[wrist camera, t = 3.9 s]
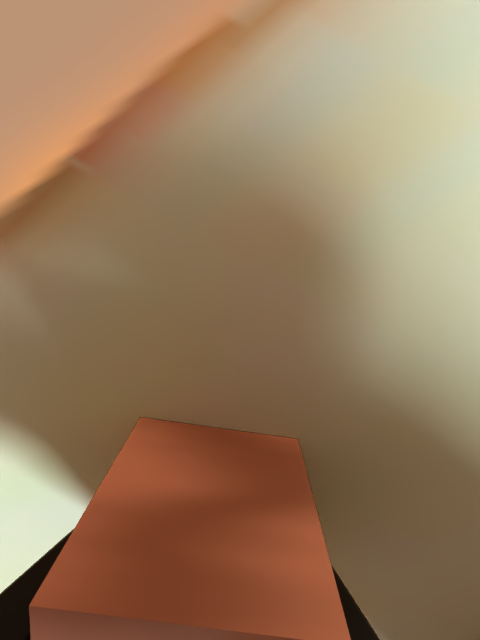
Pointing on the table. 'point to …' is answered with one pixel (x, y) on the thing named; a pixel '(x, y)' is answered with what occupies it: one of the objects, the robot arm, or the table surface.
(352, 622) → the robot arm
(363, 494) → the table surface
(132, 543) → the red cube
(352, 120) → the table surface
